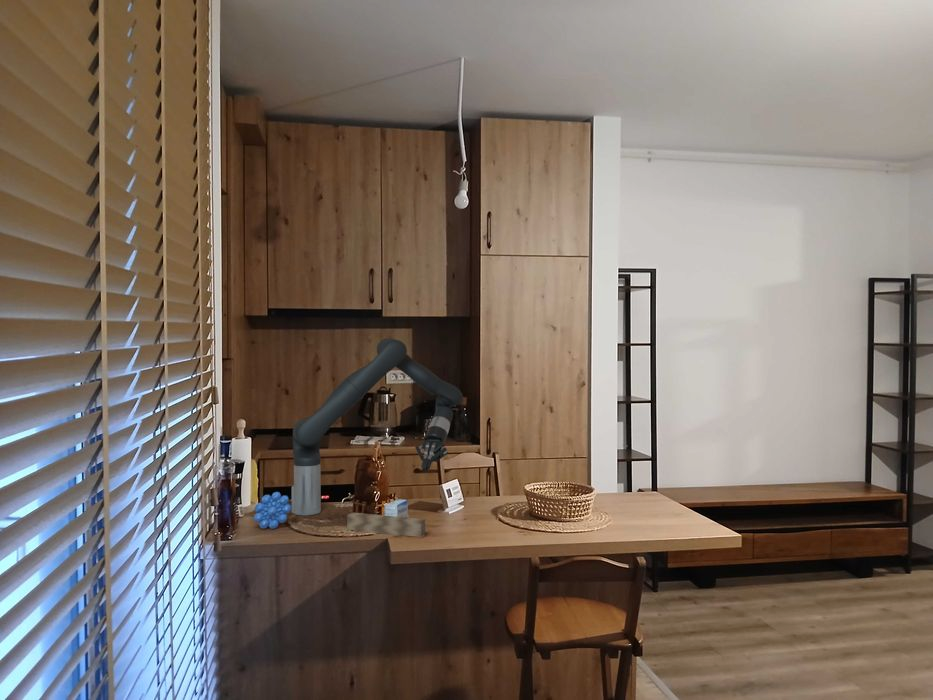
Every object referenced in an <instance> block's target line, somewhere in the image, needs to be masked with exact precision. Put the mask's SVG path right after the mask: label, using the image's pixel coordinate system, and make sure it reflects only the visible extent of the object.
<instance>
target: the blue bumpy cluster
mask: <svg viewBox="0 0 933 700" xmlns="http://www.w3.org/2000/svg"><path fill="white" fill-rule="evenodd" d="M289 500H290V499H289V496H288V495H282V494H281V493H280V491H275V492H273V493H272V494H271V495H270V494H265V495H263V496H262V497H261V502H258V503H257V504H255V506H254V511H255V512H256V513H255V515H254V516H253V521H254V522H255V523H259V527H260V528H261V529H263V530H264V529H266V528H268V527H269V529H270V530H275V529H276V528H278V526H279V524H284V523H285V522H287V520H288V515H287V514H289V513H290V512H291V511H292V505H290V503H288V502H289Z"/></svg>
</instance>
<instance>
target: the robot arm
mask: <svg viewBox="0 0 933 700" xmlns="http://www.w3.org/2000/svg"><path fill="white" fill-rule="evenodd" d="M376 353H377V355H376V356H375V357H374V358H373V359H372V360H371V361H370V362H369V363H367V364H366V365H364V366H362V367H361V368H358V369H357V370H356V371H354V372H352V373H350V374H349V375H348V376H347V377H346V378H344V379H343V380H342V381H341V382H340V383H339V384H338V385H337V386H336V387H335V388H334V389H333V391H332V392H331V393H330V394H329V396H328V397H327V399H326V401H325V402H324V403H323V404H322V406H320V407H319V408H318V410H316V411H315V412H314V413H313V414H312V415H310V416H309V417H308V418H306V417H305V418H301V419H300V420H298V421H297V422H296V423H295V424H294V426H293V428H292V453H293V454H292V455H293V485H292V486H291V514H294V515H296V516H313V515H317V514H320V513H321V512H322V511H321V510H322V505H321V504H322V503H321V502H322V501H321V499H322V498H321V497H322V496H321V490H322V489H321V485H322V484H321V483H322V482H321V481H322V480H321V473H322V472H321V469H322V468H321V464H322V463H321V452H320V440H321V439H322V438H323V436H325V434H326V433H327V432H328V431H329V429H331V427H332V426H333V425H334V424H335V423H336V422H337V421H338V420H339V419H340V418H342V416H344V415H345V414H346V413H347V412H349V411H350V409H352V408H353V407H354V406H356V404H357V403H358V402H359V401H360V400H362V399H363V398H364V396H366V394H367V393H369V392H370V391H371V389H372V388H373V387H375V386H376V385H377V384H378V383H379V381H380V380H381V379H382V378H384V377H385V376H386V374H388V373H389V372H390V371H392V370H393V369H395V368H397V369H398V370H399V371H401V372H402V373H403V374H405V375H406V376H408V378H410V379H411V380H412V381H414V382H415V383H416V384H417V385H418V386H419V387H420V388H421V389H423V390H424V391H426V392H427V393H428V394H429V395H431V396H436V398H435V399H436V400H435V411H434V414H433V416H432V417H433V418H432V419H431V422H430V423H429V427H428V429H427V431H426V434H425V437H424V441H423V442H422V444H421V445H416V446H415V450H416V452H417V453H418V457H420V460H421V462H422V463H421V469H422V471H423V472H429V470H430V468H431V466H432V463H433V462H435V463H438V462H439V461H440V460H442V459H443V458H444V457H445V456H446V455H448V453H449V451H448V449H447V447H445V443H446V440H447V437H448V434H449V431H450V427H451V423H452V420H453V418H454V417H453V416H454V412H453V410H452V409H451V408H453V407H455V406H457V405H460V404H461V403H462V401H463V397H464V396H463V393H462V391H461V390H460V389H459V387H457V386H455V385H453V384H451V383H449V382H447V381H445V380H443V379H441V378H440V377H438V376H437V375H436V374H434V373H433V372H432V371H431V370H429V369H428V368H427V367H425V366H424V365H422V364H420V363H419V362H417V361H416V360H415V359H413V358H412V357H411V356H409V354H407V353H408V351H407V346H406V344H405V343H404V342H403V341H401V340H399V339H396V338H392V337H391V338H390V337H386V338H383V339H381V340H380V341H379V342H378V343H377V345H376ZM423 451H424V455H423Z"/></svg>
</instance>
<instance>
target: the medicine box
mask: <svg viewBox="0 0 933 700" xmlns="http://www.w3.org/2000/svg"><path fill="white" fill-rule="evenodd" d="M408 503H409V501H408V500H407V499H395V500H392V501H390V502H388V503H387V504H384V515H385V516H395V517H406V518H409V516H408V515H409V514H408V513H409V511H408V510H409V509H408V508H409V507H408Z"/></svg>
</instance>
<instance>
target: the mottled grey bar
mask: <svg viewBox="0 0 933 700" xmlns="http://www.w3.org/2000/svg"><path fill="white" fill-rule="evenodd" d="M346 521H347V522H346V530H347V531H350V530H355V531H354V532H360V531H365V532H364V533H369V532H373V534H380V535H390V536H398V535H399V537H407V536H419V537H422V536H423V535H425V536H426V519H425V518H416V517H408V518H406V517H395V516H385V514H373V513H361V512H352V511H351V512H350V513H348V514H347V515H346ZM400 535H402V536H400ZM422 538H423V537H422Z"/></svg>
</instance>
